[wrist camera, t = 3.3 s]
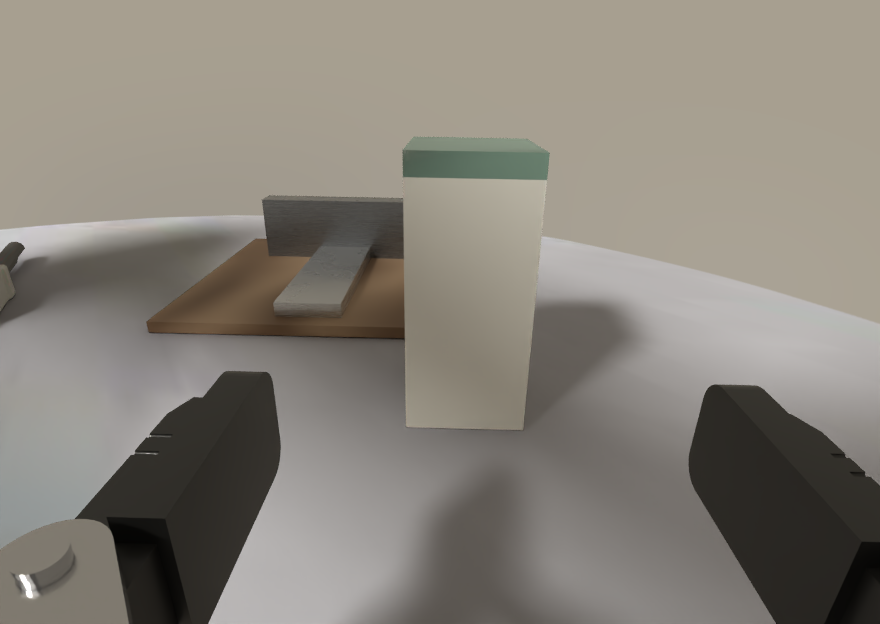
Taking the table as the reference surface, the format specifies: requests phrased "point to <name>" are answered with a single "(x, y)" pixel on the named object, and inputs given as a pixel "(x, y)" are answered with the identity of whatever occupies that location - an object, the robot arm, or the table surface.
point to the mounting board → (260, 283)
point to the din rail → (324, 283)
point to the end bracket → (333, 225)
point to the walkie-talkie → (8, 270)
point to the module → (470, 278)
